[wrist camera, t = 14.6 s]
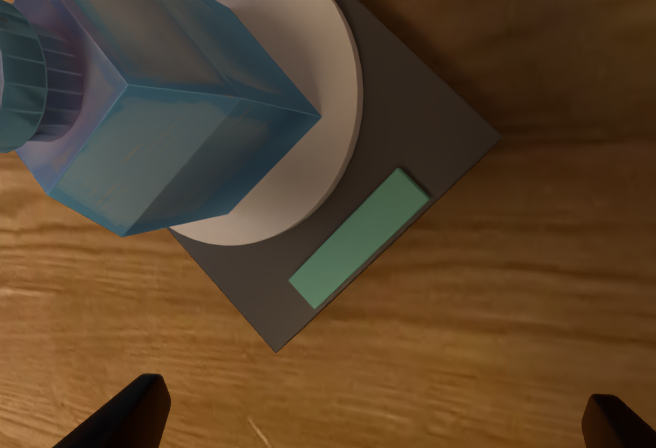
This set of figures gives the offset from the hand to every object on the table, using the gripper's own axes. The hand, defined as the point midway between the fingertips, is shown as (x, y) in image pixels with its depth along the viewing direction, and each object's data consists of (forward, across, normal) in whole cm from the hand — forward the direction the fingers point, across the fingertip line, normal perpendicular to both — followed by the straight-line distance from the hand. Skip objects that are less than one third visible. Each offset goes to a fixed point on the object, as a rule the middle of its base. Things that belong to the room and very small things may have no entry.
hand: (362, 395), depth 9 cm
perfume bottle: (+12, +6, -2) cm, 14 cm away
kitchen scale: (+15, +6, -1) cm, 16 cm away
